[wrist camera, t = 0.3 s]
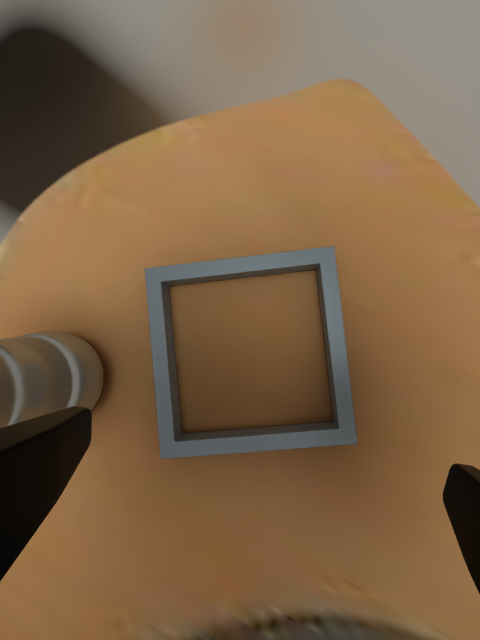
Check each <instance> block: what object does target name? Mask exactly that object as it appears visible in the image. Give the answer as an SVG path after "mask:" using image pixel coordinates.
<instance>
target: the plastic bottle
mask: <svg viewBox="0 0 480 640" xmlns="http://www.w3.org/2000/svg"><path fill="white" fill-rule="evenodd" d="M103 381H104V380H103V368H102V363H101V361H100V359H99V356H98V354H97V353H96V351H95V350H94V349H93V347H91V346H90V345H89V344H88V343H87V342H86V341H84V340H82V339H81V338H78V337H76V336H73V335H70V334H67V333H65V332H60V331H44V332H37V333H31V334H27V335H24V336H20V337H16V338H5V339H0V428H2V427H6V426H9V425H12V424H16V423H19V422H22V421H26V420H29V419H32V418H36V417H39V416H42V415H46V414H49V413H52V412H55V411H59V410H62V409H65V408H69V407H72V406H79V407H86V408H89V409H90V410H92V409H93V407H94V406H95V405H96V403H97V401H98V399H99V397H100V394H101V392H102V387H103Z"/></svg>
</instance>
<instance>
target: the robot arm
mask: <svg viewBox="0 0 480 640" xmlns="http://www.w3.org/2000/svg"><path fill="white" fill-rule="evenodd" d="M91 422H92V414H91V410H90V409H89V408H86V407H79V406H72V407H69V408H65V409H62V410H59V411H55V412H52V413H49V414H46V415H42V416H39V417H36V418H32V419H29V420H26V421H22V422H19V423H16V424H12V425H9V426H6V427H2V428H0V581H1V580H2V578H3V577H4V575H5V574H6V573H7V571H8V570H9V568H10V567H11V566H12V564H13V563H14V561H15V560H16V559H17V557H18V556H19V554H20V553H21V551H22V550H23V549H24V547H25V546H26V544H27V543H28V542H29V540H30V539H31V537H32V536H33V535H34V533H35V532H36V530H37V529H38V528H39V526H40V525H41V523H42V522H43V521H44V519H45V518H46V516H47V515H48V514H49V512H50V511H51V509H52V508H53V507H54V505H55V504H56V502H57V501H58V499H59V497H60V496H61V494H62V493H63V491H64V489H65V487H66V486H67V484H68V482H69V480H70V479H71V477H72V475H73V473H74V472H75V470H76V468H77V466H78V465H79V463H80V461H81V459H82V458H83V456H84V454H85V452H86V451H87V449H88V447H89V445H90V441H91ZM443 502H444V505H445V508H446V511H447V514H448V516H449V519H450V522H451V524H452V527H453V530H454V533H455V535H456V538H457V541H458V544H459V546H460V549H461V552H462V555H463V557H464V560H465V562H466V565H467V567H468V570H469V572H470V574H471V577H472V579H473V581H474V583H475V585H476V587H477V589H478V592H479V594H480V470H479V469H477V468H475V467H473V466H470V465H464V464H453V465H452V466H451V468H450V470H449V474H448V477H447V480H446V484H445V487H444V491H443Z"/></svg>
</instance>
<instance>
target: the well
mask: <svg viewBox="0 0 480 640" xmlns="http://www.w3.org/2000/svg"><path fill="white" fill-rule="evenodd" d="M315 269H316V274H317V283H318V291H319V300H320V309H321V317H322V326H323V335H324V343H325V352H326V361H327V370H328V378H329V387H330V396H331V404H332V413H333V421H332V422H320V423H308V424H296V425H283V426H271V427H259V428H247V429H235V430H222V431H210V432H198V433H186V434H182V427H181V415H180V404H179V393H178V381H177V370H176V358H175V347H174V336H173V324H172V313H171V302H170V290H169V286H175V285H184V284H192V283H201V282H210V281H219V280H227V279H236V278H245V277H254V276H262V275H271V274H280V273H289V272H298V271H306V270H315ZM145 276H146V288H147V300H148V312H149V324H150V336H151V348H152V360H153V372H154V384H155V396H156V407H157V419H158V431H159V443H160V455H161V459H166V458H179V457H192V456H205V455H218V454H231V453H244V452H257V451H270V450H283V449H296V448H309V447H322V446H335V445H348V444H358V443H357V435H356V427H355V418H354V410H353V401H352V393H351V385H350V376H349V368H348V359H347V351H346V343H345V334H344V326H343V317H342V309H341V300H340V292H339V284H338V275H337V267H336V258H335V250H334V246H331V247H322V248H314V249H305V250H297V251H289V252H280V253H272V254H263V255H255V256H246V257H238V258H230V259H221V260H213V261H204V262H196V263H187V264H179V265H170V266H162V267H154V268H145Z"/></svg>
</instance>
